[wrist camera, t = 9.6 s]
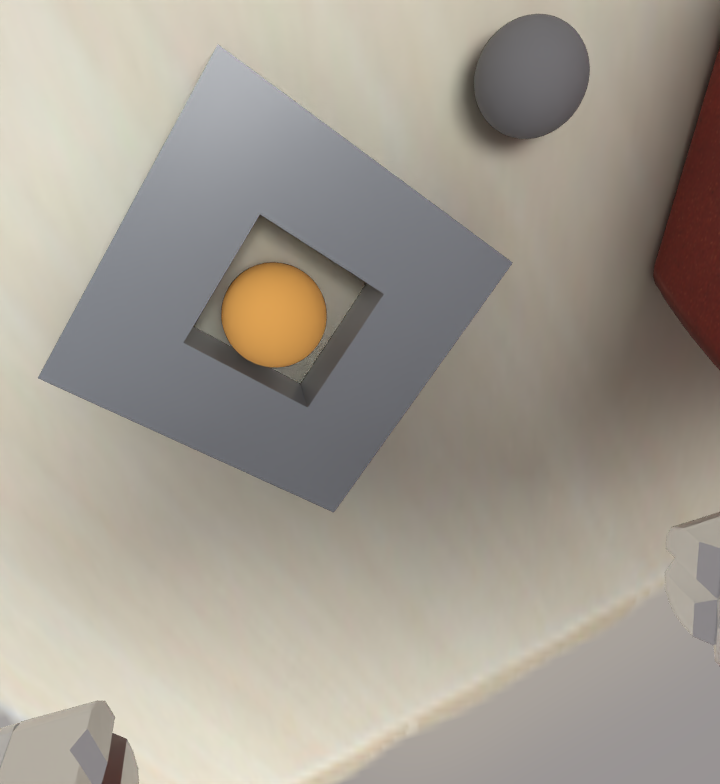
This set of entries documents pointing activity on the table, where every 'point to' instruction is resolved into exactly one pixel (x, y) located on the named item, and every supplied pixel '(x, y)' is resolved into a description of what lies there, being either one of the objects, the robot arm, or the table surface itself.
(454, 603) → the table surface
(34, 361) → the table surface
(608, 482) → the table surface
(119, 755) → the robot arm
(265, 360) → the orange ball
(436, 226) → the grey square frame
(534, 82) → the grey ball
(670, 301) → the plant pot
